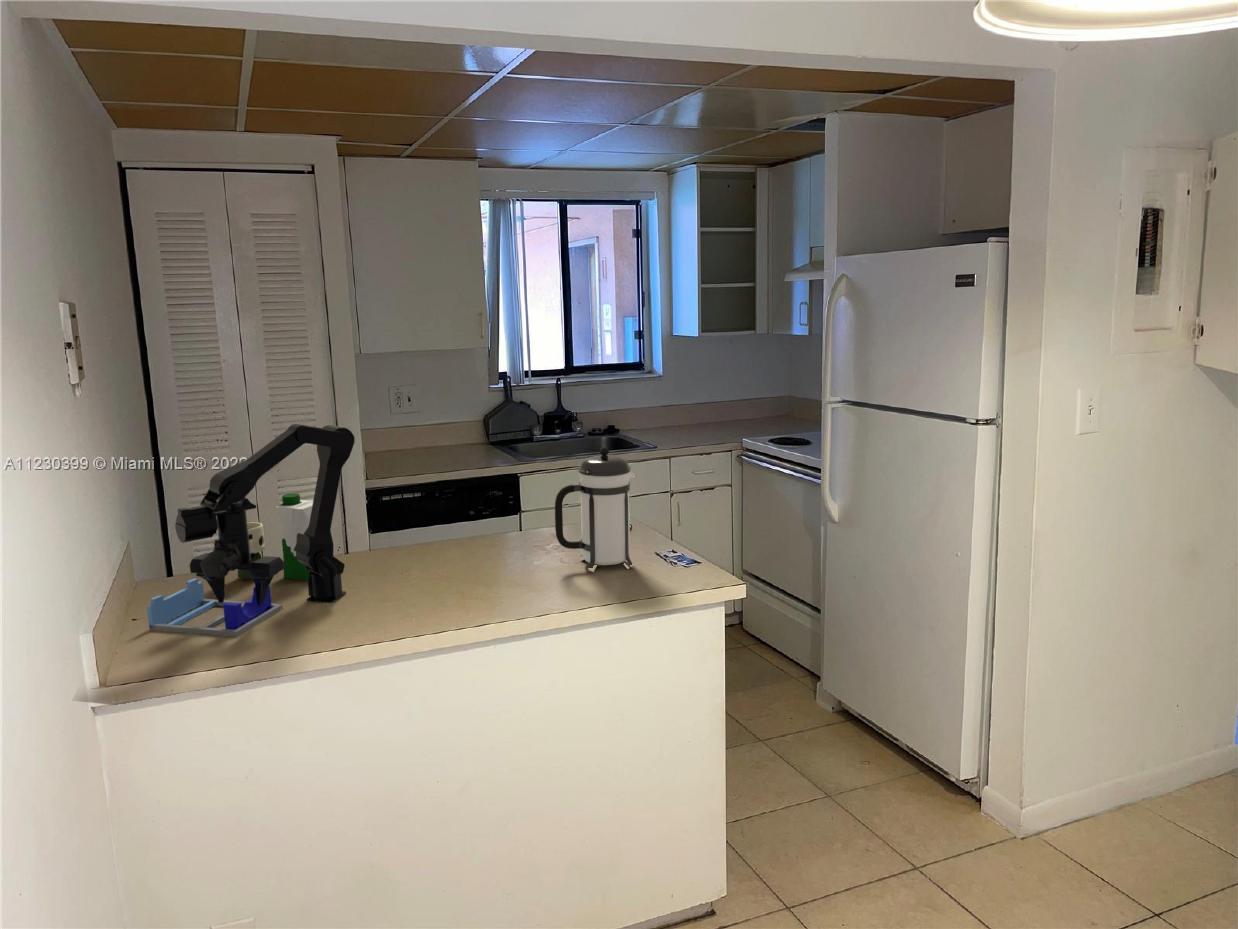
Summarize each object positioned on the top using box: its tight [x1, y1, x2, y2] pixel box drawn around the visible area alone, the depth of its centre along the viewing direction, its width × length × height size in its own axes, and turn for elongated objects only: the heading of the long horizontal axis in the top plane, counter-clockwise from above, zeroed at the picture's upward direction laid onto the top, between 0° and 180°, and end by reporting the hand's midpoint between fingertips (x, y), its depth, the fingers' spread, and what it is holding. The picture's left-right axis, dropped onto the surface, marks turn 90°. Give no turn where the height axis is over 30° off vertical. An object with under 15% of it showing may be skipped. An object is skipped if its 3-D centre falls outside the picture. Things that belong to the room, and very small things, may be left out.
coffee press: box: [554, 446, 636, 569], centre depth 218 cm, size 17×16×30 cm
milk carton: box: [275, 493, 313, 581], centre depth 215 cm, size 9×9×20 cm
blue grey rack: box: [146, 578, 284, 637], centre depth 188 cm, size 20×16×6 cm
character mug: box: [237, 522, 266, 579], centre depth 215 cm, size 11×7×13 cm, turn 26°
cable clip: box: [222, 585, 272, 630], centre depth 187 cm, size 12×4×6 cm, turn 169°
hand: (240, 603), depth 187 cm, fingers open, 9 cm apart
